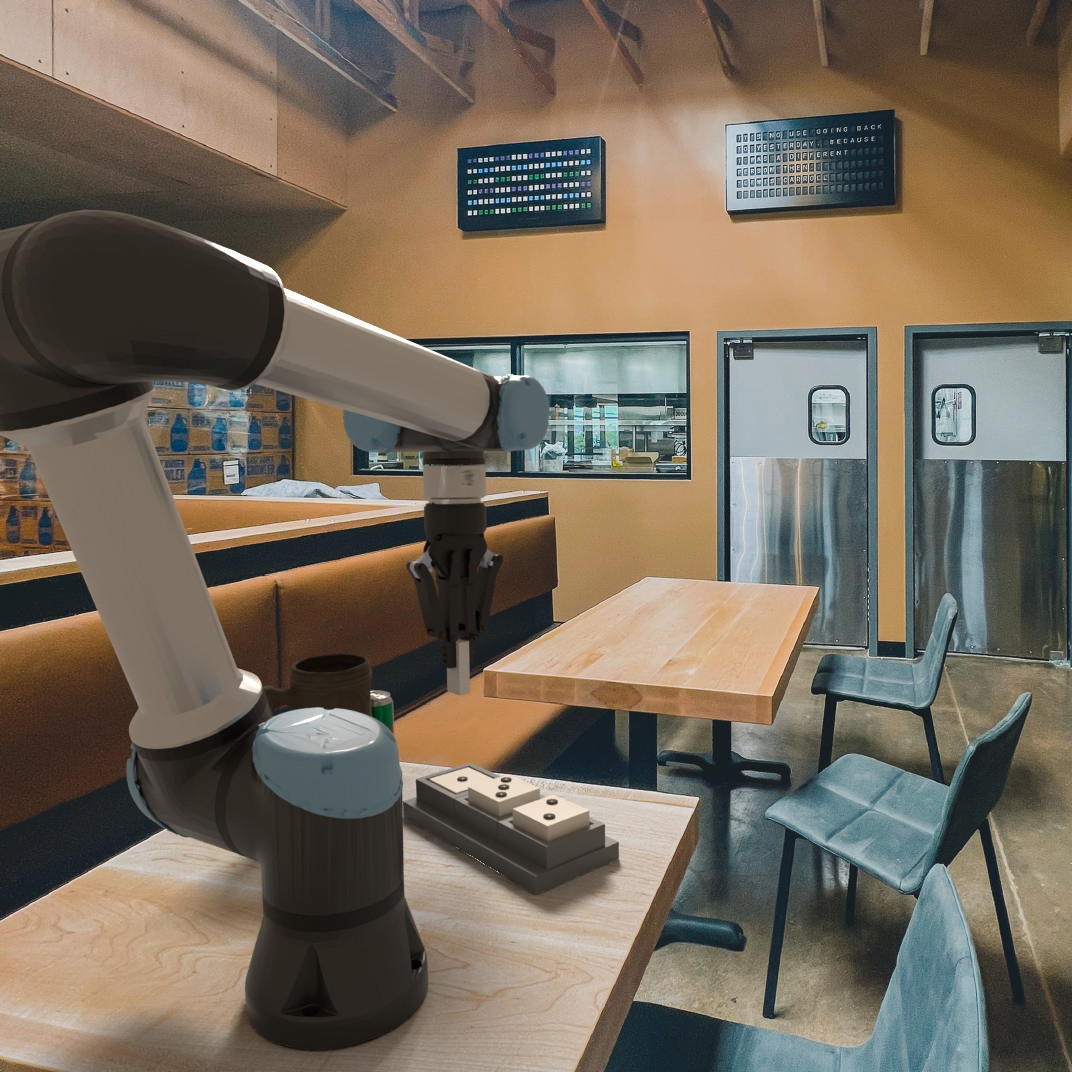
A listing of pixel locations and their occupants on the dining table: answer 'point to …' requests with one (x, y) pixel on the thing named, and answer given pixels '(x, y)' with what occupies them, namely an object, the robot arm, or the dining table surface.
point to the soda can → (383, 708)
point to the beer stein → (326, 684)
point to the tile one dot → (459, 780)
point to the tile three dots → (502, 794)
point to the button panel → (508, 837)
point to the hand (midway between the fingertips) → (458, 692)
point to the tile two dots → (550, 817)
